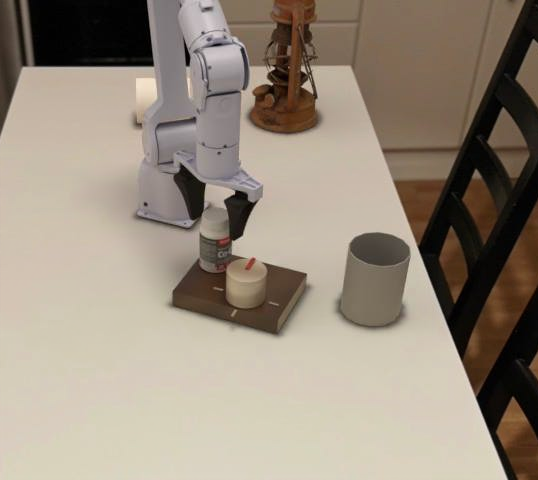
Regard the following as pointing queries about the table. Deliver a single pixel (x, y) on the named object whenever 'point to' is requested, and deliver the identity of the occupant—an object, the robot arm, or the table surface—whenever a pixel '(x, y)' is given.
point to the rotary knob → (246, 283)
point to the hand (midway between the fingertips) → (216, 227)
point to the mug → (149, 96)
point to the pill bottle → (215, 240)
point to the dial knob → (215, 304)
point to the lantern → (288, 72)
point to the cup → (375, 278)
